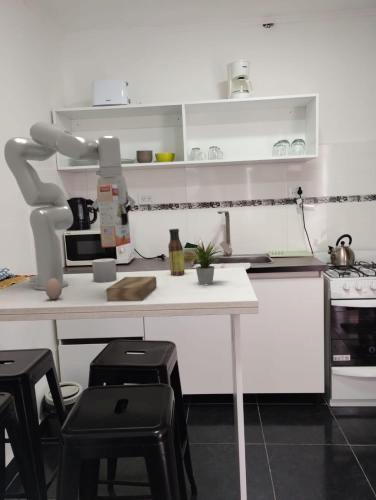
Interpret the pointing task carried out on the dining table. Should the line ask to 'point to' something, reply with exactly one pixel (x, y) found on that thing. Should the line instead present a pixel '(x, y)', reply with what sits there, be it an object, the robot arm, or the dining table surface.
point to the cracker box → (111, 217)
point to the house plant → (205, 264)
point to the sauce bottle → (176, 253)
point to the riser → (131, 289)
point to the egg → (53, 289)
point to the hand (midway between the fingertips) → (115, 225)
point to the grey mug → (104, 270)
